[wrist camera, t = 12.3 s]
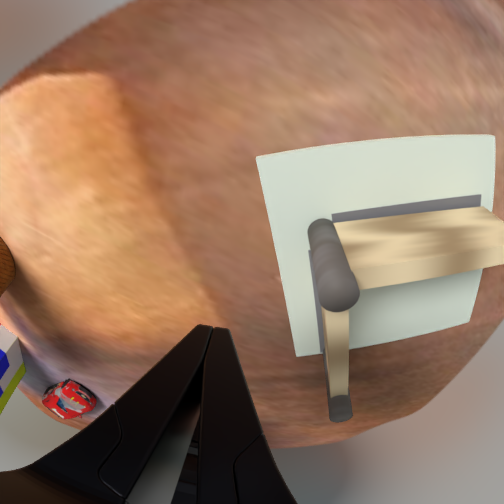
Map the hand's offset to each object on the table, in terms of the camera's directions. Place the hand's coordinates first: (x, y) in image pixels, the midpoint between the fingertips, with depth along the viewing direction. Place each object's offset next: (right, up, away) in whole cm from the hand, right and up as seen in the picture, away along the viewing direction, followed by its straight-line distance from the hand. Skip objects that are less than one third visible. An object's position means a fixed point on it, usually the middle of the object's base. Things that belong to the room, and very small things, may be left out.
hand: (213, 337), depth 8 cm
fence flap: (+10, +4, +9) cm, 14 cm away
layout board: (+11, +2, +11) cm, 16 cm away
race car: (-26, -18, +27) cm, 41 cm away
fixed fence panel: (+7, -1, +13) cm, 15 cm away
